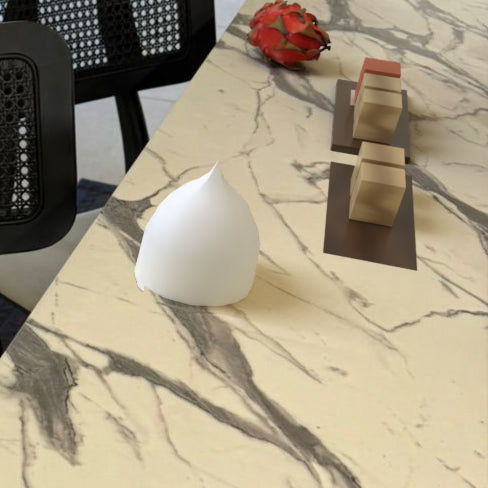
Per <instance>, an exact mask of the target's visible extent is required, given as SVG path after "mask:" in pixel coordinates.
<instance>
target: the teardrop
mask: <svg viewBox="0 0 488 488" xmlns="http://www.w3.org/2000/svg"><path fill="white" fill-rule="evenodd" d="M259 232H260V231H259V228H258V225H257V223H256V220H255V218H254V215H253V213H252V211H251V208H250V206H249V203H248V202H247V201H246V199H245V198H244V196H242V194H241V192H240V191H239V190H238V189H237V188H236V187H235V186H233V185H232V184H231V183H229V181H228V180H227V178H226V177H225V176H224V174H223V170H222V166H221V162H220V159H218V160H217V162H216V163H215V165H214V166H213V167H212V168H211V170H210V171H208V172H207V173H205V174H203V175H202V176H200V177H198V178H195V179H193V180H189V181H187V182H185V183H184V184H182V185H181V186H179V187H178V188H176V189H174V190H173V191H171V193H169V194H168V195H167V196H166V197H165V198H164V199H163V200H162V201H161V202H160V203H159V205H158V206H157V208H156V210H155V211H154V213H153V214H152V216H151V217H150V219H149V220H148V222H147V224H146V225H145V228H144V232H143V235H142V239H141V244H140V247H139V251H138V255H137V259H136V263H135V267H134V271H133V274H134V273H135V274H134V277H135V281H137V282H136V285H137V288H139V289H140V291H141V292H144V290H145V288H147V289H148V290H149V291H151V292H153V293H155V294H157V295H158V296H160V297H162V298H164V299H167V300H171V301H174V302H177V303H182V304H185V305H188V306H195V307H197V306H198V307H223V306H227V305H228V306H229V305H233V304H236V303H238V302H239V301H241V300H243V299H245V298H246V297H247V296H248V295H249V293H250V291H251V289H252V288H253V285H254V282H255V276H256V271H257V265H258V259H259V255H260V248H261V239H260V233H259ZM157 303H158V304H160V305H162V306H165V307H168V308H172V309H175V310H179V311H182V312H186V313H189V314H214V315H215V313H214V312H211V311H204V310H200V309H196V308H195V309H194V308H190V307H184V306H181V305H175V304H171V303H170V304H169V303H165V302H160V301H157Z"/></svg>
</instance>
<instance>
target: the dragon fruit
mask: <svg viewBox="0 0 488 488" xmlns="http://www.w3.org/2000/svg"><path fill="white" fill-rule="evenodd" d="M318 26H319V20H318V18H317V16H316V15H315V14H313V13H311V12H307V8H306V7H303V8H302V6H301V4H300V3H299V2H293V3H292V4H288V0H274V2H265V4H263V6H262V7H260V8H259V9H257V10H256V11H255V13H254V14H253V17H251V18H250V19H249V23H248V27H249V29H250V31H249V32H247V33H246V36H247V38H246V41H247V42H248V44H249V45H250V46H253V47H258V48H259V51H260V52H261V55H262V58H263V63H265V64H267V63H269V62H271V60H273V61H274V62H276V63H277V64H280V65H282V66H283V67H286V69H288V70H291V71H298V70H299V71H300V70H306V68H305V66H303V65H296V63H297V62H306V61H307V62H311V61H316V62H319V59H320V57H321V54H322V52H324V51H326V50H327V51H329V52H330V51H331V49H332V46H331V44H332V41H331V38H330V36H329V34H328V33H327V32H326V31H325V30H324V29H323V28H321V27H318ZM321 47H322V48H321Z"/></svg>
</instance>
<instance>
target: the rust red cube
mask: <svg viewBox="0 0 488 488" xmlns="http://www.w3.org/2000/svg"><path fill="white" fill-rule="evenodd" d="M401 65H402V64H401V62H398V61H392V60H386V59H379V58H374V57H367V56H365V57H364V60H363V63H362V66H361V70H360V73H359V77H358V80H357V82H358V83H357V87H356V90H355V103H356V100H357V96H358V93H359V90H360V86H361V83H362V80H363V76H364V73H370V74H376V75H382V76H388V77H394V78H400V79H401V77H402V68H401V67H402V66H401Z"/></svg>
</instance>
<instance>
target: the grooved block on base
mask: <svg viewBox="0 0 488 488" xmlns="http://www.w3.org/2000/svg"><path fill="white" fill-rule="evenodd" d="M329 165H330V166H329V178H328V189H327V199H326V200H327V201H326V211H325V224H324V234H323V235H324V236H323V246H322V247H323V248H322V254H327V255H333V256H338V257H343V258H348V259H352V260H359V261H363V262H370V263H373V264H380V265H383V266H389V267H395V268H400V269H405V270H410V271H416V272H417V271H418V263H417V247H416V246H417V245H416V226H415V212H414V211H415V209H414V194H413V193H414V192H413V190H414V189H413V175H410V174H406V169H405V167H406V163H405V156H404V149H403V148H397V147H392V146H386V145H380V144H374V143H369V142H362V145H361V148H360V151H359V154H358V155H357V158H356V161H355V165H353V164H348V163H344V162H343V163H342V162H336V161H330V164H329Z"/></svg>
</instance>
